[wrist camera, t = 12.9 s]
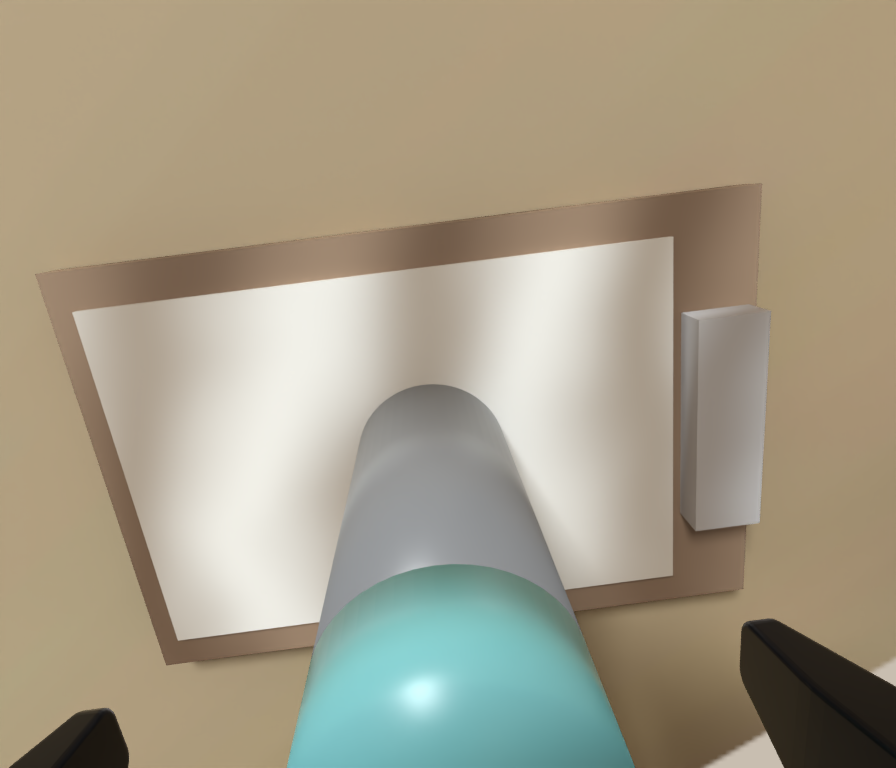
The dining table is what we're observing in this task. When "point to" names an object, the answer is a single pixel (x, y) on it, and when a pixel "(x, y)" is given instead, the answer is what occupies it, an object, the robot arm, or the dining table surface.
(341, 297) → the clipboard
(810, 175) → the dining table surface
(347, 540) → the marker
